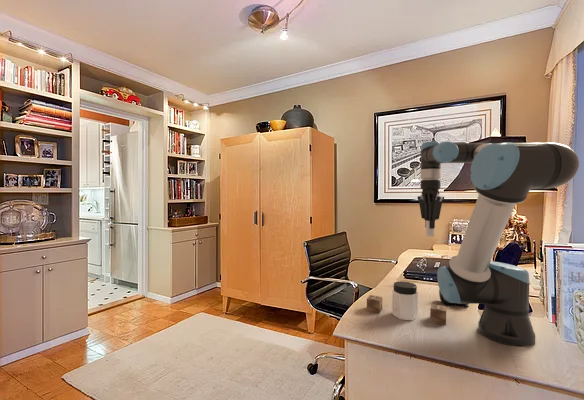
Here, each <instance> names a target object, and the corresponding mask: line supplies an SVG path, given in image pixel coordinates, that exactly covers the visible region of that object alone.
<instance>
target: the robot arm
mask: <svg viewBox="0 0 584 400" xmlns="http://www.w3.org/2000/svg"><path fill="white" fill-rule="evenodd" d="M468 163H469V164H471V166H470V171H469V172H471V174H470V176H469V177H470V180H471V183H472V185H473V186H474V190H475V192H476V193H477V195H478V196H477V199H476V202H475V204H474V207H473V209H472V213H471V215H470V219H469V222H468V224H467V227H466V229H465V233H464V235H463V239H462V240H461V244H460V247H459V249H458V251H457V252H458V253H457V254H456V255H454V256H453V257H451V258H450V259H449V262H448V265H447V266H446V265H443V266H439V267H438V269H437V273H436V277H437V285H438V289H440V291H441V294H442V296H443V297H444V299H445V300H446V301H448V302H450V303H458V304H468V305H469V304H471V305H474V304H475V305H476V304H477V305H479V304H481V305H482V304H483V305H484V308H483V310H482V312H481V315H480V318H479V320H478V325H477V329H478V331H479V333H480V334H481V335H483V336H484V337H486V338H488V339H490V340H492V341H494V342H497V343H500V344H503V345H508V346H516V347H531V346H533V345H535V344H536V332H535V331H534V328H533V325H532V322H531V318H530V316H529V315H530V313H529V312H530V311H529V310H530V309H529V308H530V303H529V302H530V285H531V282H530V274H529V273H530V272H528V270H526V269H525V268H523V267H520V266H516V265H513V264H510V263H505V262H500V261H492V259H493V257H494V254H495V252H496V250H497V248H498V245H499V243H500V241H501V238H502V237H503V234H504V231H505V229H506V227H507V225H508V222H509V220H510V217H511V215H512V213H513V211H514V209H515V206H516V205H517V204H522V203H523V202H525V201H526V199H527V197H528V194H529V193H530V191H531V190H547V189H548V190H550V189H554V188H558V187H561V186H563V185H565V184H567V183H568V182H570V181H571V180H572V179H573V178H574V177H575V176H576V174H577V173H578V171H579V167H580V160H579V157H578V155H577V153H576V152H575V151H574V150H573V149H572V148H570V147H569V146H568V145H565V144H561V143H558V142H509V141H505V142H499V143H498V142H497V143H491V142H490V143H489V142H453V141H442V142H440V141H435V140H434V141H427V142H423V143H421V146H420V189H421V190H422V191H421V195H419V196H417V200H418V203H419V204H418V205H419V210H420V217H421V219H423V220H424V222H425V225H424V227H425V236H426V237H429V238H430V237H434V235H435V234H434V233H435V227H436V225H435V224H436V221H437V220H439V219H440V216H441V210H442V205H443V202H444V200H445V196H441V195H440V189H441V170H442V169H441V168H442V167H441V164H468Z"/></svg>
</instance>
